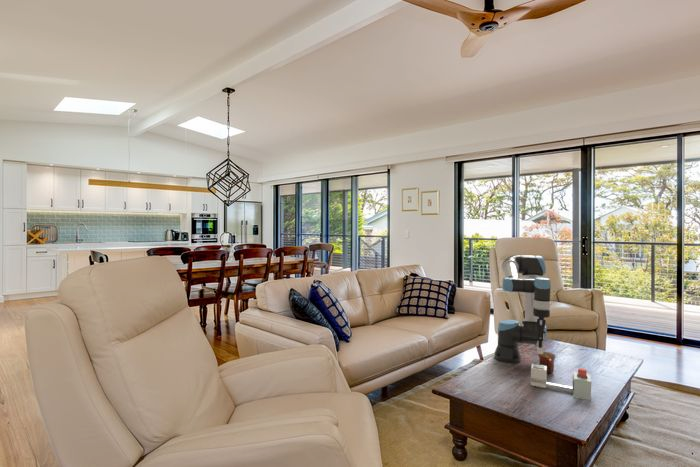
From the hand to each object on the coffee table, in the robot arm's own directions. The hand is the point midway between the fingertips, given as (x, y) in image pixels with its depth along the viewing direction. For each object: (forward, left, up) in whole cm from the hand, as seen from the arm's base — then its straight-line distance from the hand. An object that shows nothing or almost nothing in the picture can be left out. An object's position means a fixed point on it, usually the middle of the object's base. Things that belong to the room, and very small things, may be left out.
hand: (540, 349), depth 197 cm
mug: (+3, +20, -19) cm, 28 cm away
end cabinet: (+19, 0, -19) cm, 26 cm away
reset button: (+19, 0, -10) cm, 21 cm away
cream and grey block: (0, 0, -18) cm, 18 cm away
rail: (+6, 0, -19) cm, 20 cm away
